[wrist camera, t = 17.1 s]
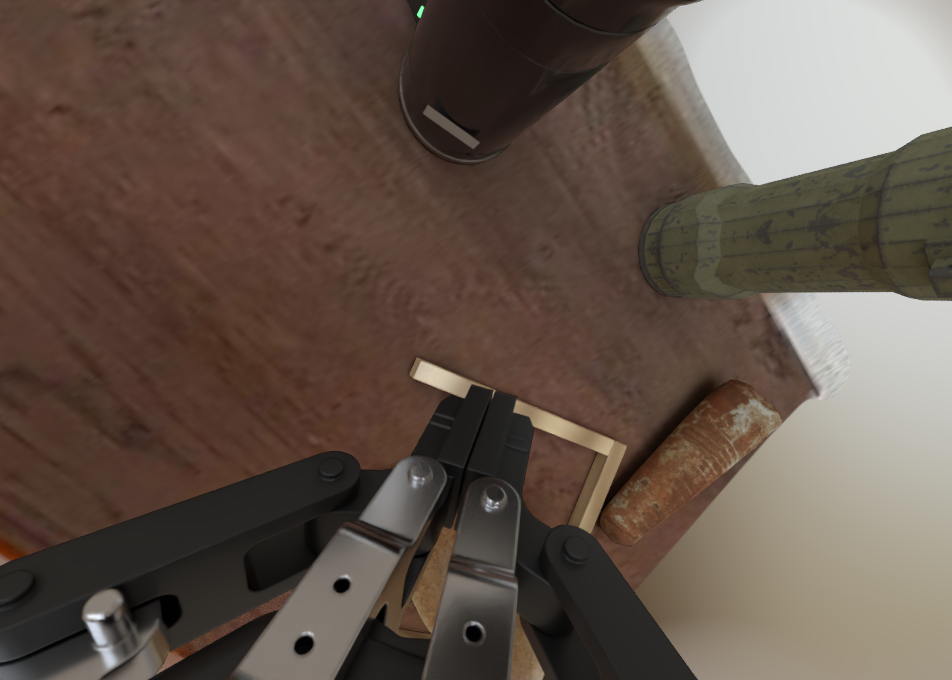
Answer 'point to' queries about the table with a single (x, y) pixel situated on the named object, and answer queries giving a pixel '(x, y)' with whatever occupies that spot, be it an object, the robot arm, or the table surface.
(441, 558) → the stone cup
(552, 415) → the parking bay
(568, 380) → the table surface
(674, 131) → the table surface
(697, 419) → the rusty brown cylinder
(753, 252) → the thermos
